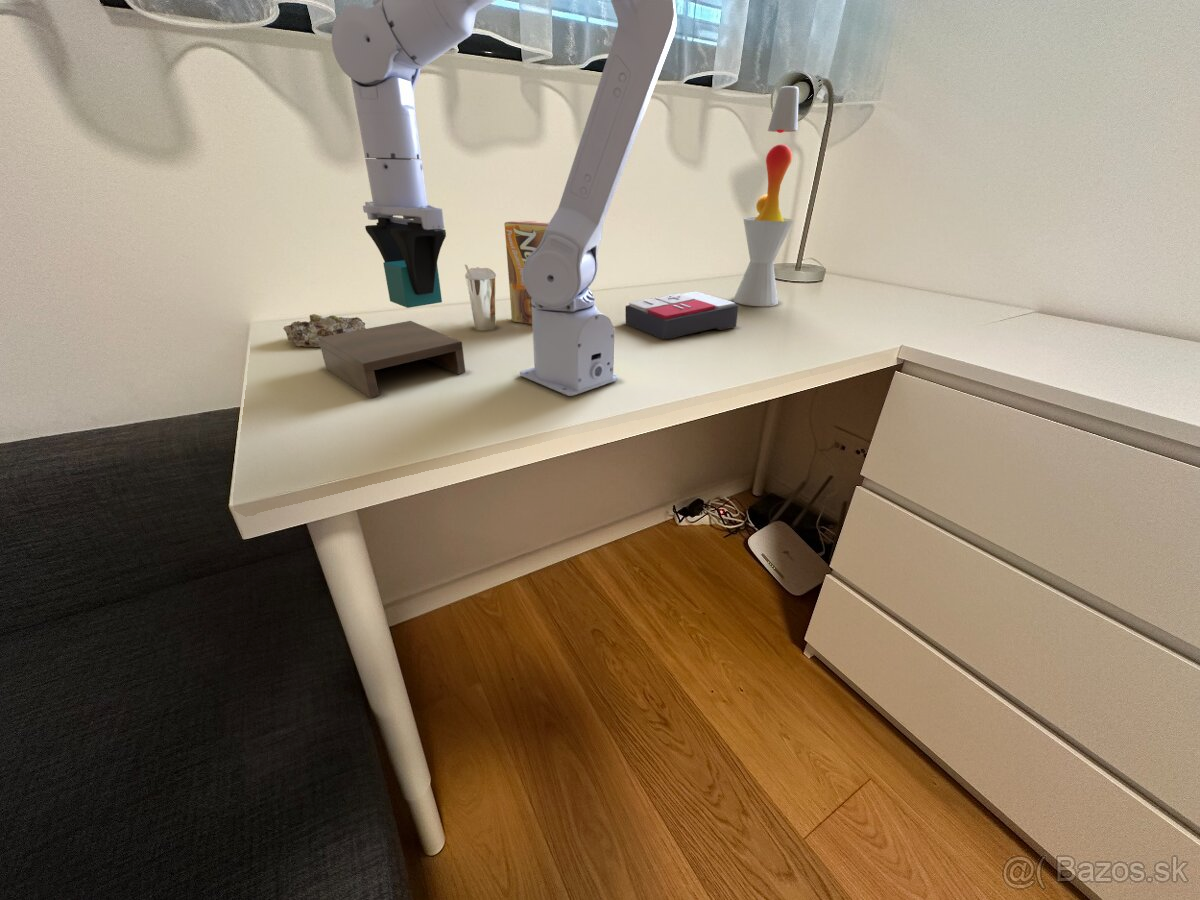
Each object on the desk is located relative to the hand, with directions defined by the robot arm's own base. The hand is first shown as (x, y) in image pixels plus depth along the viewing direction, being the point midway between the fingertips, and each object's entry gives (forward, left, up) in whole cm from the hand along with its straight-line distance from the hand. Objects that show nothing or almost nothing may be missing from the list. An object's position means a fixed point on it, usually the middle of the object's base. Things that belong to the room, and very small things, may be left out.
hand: (413, 289), depth 61 cm
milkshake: (+10, -15, -10) cm, 20 cm away
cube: (0, 0, -1) cm, 1 cm away
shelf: (+1, +4, -9) cm, 10 cm away
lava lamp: (-9, -66, -10) cm, 68 cm away
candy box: (+7, -24, -10) cm, 27 cm away
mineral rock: (+20, +5, -10) cm, 22 cm away
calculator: (-10, -40, -10) cm, 43 cm away
